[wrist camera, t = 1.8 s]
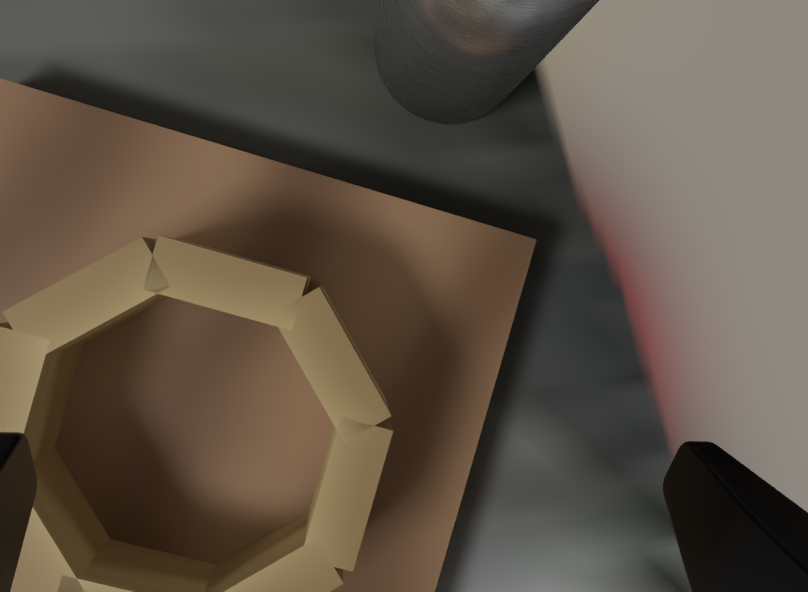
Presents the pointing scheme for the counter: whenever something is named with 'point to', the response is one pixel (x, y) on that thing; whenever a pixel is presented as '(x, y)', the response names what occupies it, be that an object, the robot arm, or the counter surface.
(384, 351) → the ring board
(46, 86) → the counter surface
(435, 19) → the piston
